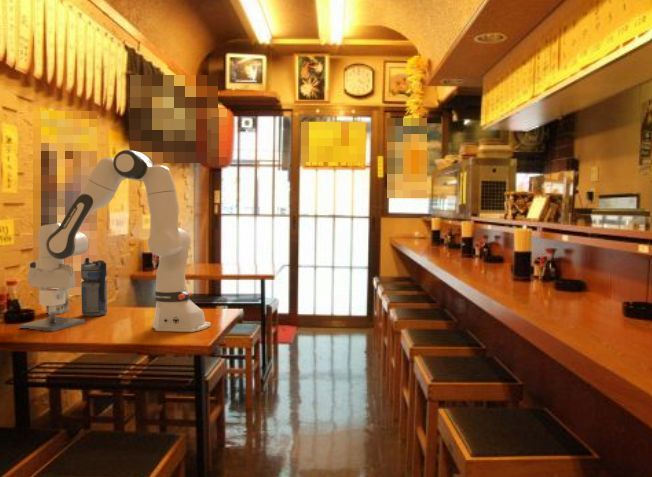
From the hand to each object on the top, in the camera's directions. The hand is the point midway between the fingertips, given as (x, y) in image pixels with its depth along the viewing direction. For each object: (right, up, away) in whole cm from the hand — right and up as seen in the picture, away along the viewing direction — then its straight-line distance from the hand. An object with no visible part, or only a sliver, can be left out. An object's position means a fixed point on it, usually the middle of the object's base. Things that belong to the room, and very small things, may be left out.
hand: (52, 298), depth 196 cm
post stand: (0, -11, +1) cm, 11 cm away
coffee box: (-13, -10, +27) cm, 32 cm away
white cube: (0, -2, 0) cm, 2 cm away
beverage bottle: (+8, -10, +21) cm, 25 cm away
